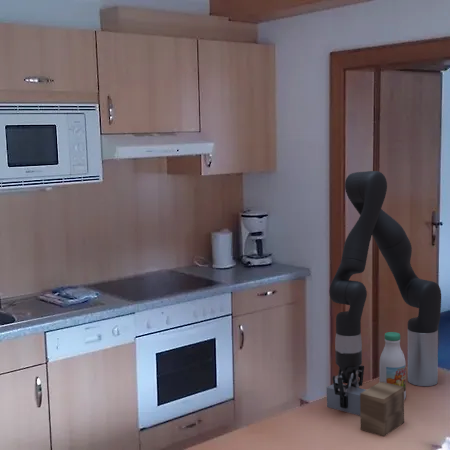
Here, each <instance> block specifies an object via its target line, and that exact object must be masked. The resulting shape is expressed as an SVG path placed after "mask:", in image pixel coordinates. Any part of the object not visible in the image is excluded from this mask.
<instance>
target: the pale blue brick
mask: <svg viewBox="0 0 450 450" xmlns="http://www.w3.org/2000/svg"><path fill="white" fill-rule="evenodd" d="M343 388H344V387H343ZM365 390H367V389H365V388H361V387H359V388H357V387H353V386H351V387H350V388H349V389H348V395H347V396H348V408H346V409H345V408H341V407H340V395H336V394H335V391H334V385H333V383H332V384H330V385H329V386H326V408H330V409H334V410H336V411H337V410H338V411H341V412H345V413H348V414H353V415H357V416H360V393H362V392H364V391H365ZM338 391H339V389H338ZM344 392H345V388H344Z"/></svg>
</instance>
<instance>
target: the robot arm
mask: <svg viewBox="0 0 450 450" xmlns="http://www.w3.org/2000/svg"><path fill="white" fill-rule="evenodd" d="M345 178H346V179H345V182H344V188H345V189H344V190H345V192H346V196H347V197H348V200H349V202H351V204H352V205H353V207H354V208H355V210H356V211H357V212H358V214H359V216H358V219H357V221H356V222H355V224H354V225H353V227H352V229H351V230H350V231H349V233H348V234H347V236H346V239H345V241H344V246H343V250H342V255H341V259H340V264H339V266H338V268H337V270H336V272H335V275H334V277H333V279H332V280H331V283H330V285H329V290H328V292H329V293H328V294H329V297H330V299H331V301H332V302H334V303H336V304H339V305H345V306H346V305H347V306H349V309H348V310H347V311H341V312H339V313H337V314H336V317H335V340H334V342H335V343H334V345H335V346H334V347H335V349H334V351H335V355H334V356H335V364H336V365H337V366H338V373H337V375H333V376H332V382H333V383H332V384H333V385H334V391H335V394H336V395H340V407H341V408H345V409H346V408H348V396H347V395H348V389H349V388H350V387H351V386H353V387H357V388H360V387H362V386H363V383H364V374H365V366H364V365H363V352H362V351H363V350H362V349H363V346H362V345H363V342H362V333H361V331H362V328H361V327H362V326H361V325H362V323H361V321H362V316H363V312H364V307H365V304H366V300H367V296H368V291H367V288H366V286H365V284H364V282H361V281H358V280H350V279H351V277H352V276H353V275H356V274H362V273H364V271H365V270H366V265H367V259H368V254H369V248H370V243H371V239H372V237H373V239H374V241H375V244H376V246H377V248H378V250H379V251H380V252H381V255H382V257H383V258H384V260H385V263H386V264H387V266H388V268H389V269H390V272H391V273H392V276H393V277H394V281H395V282H396V285H397V288H398V290H399V293H400V295H401V298H402V299H403V301H404V303H406V304H407V305H408V306H411V307H413V308H416V309H418V315H417V316H416V317H413V318H409V319H408V321H407V382H408V383H410V384H411V385H412V386H413V385H415V386H419V387H432V386H435V385H437V384H438V380H439V379H438V377H439V376H438V373H439V372H438V370H439V369H438V366H439V365H438V361H439V360H438V357H439V355H438V352H439V350H438V349H439V347H438V346H439V344H438V343H439V340H438V339H439V332H438V331H439V329H438V328H439V323H440V321H441V311H442V310H441V309H442V291H441V287H440V286H439V284H438V283H437V282H435V281H433V280H427V279H422V278H419V277H418V275H417V274H416V272H415V271H414V268H413V267H412V264H411V259H412V252H413V251H412V250H413V248H412V243H411V241H410V239H409V237H408V235H407V233H406V231H405V230H404V228H403V227H402V225H401V224H400V223H399V222H398V221H397V220H396V219H394V218H393V217H392V216H391V215H390V214H388V213H387V212H385V210H384V209H382V206H383V204H384V201H385V198H386V194H387V190H388V182H387V178H386V177H385V174H383V173H382V172H381V171H378V170H368V171H358V172H351V173H350V174H349V175H347V176H346V177H345ZM343 387H344V388H345V392H344V388H343ZM338 389H339V391H338Z"/></svg>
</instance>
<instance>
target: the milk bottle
mask: <svg viewBox="0 0 450 450" xmlns="http://www.w3.org/2000/svg"><path fill="white" fill-rule="evenodd" d="M384 342H385V344H384V347H383V349H382V352H381V354H380V358H379V382H386V383H390V384H394V385H399V386H403V387H404V401H405V399H406V397H407V367H406V366H407V365H406V363H407V361H406V359H405V358H406V356H405V355H404V352H403V350H402V348H401V344H400V343H401V334H400V333H399V332H395V331H389V332H385V333H384Z"/></svg>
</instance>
